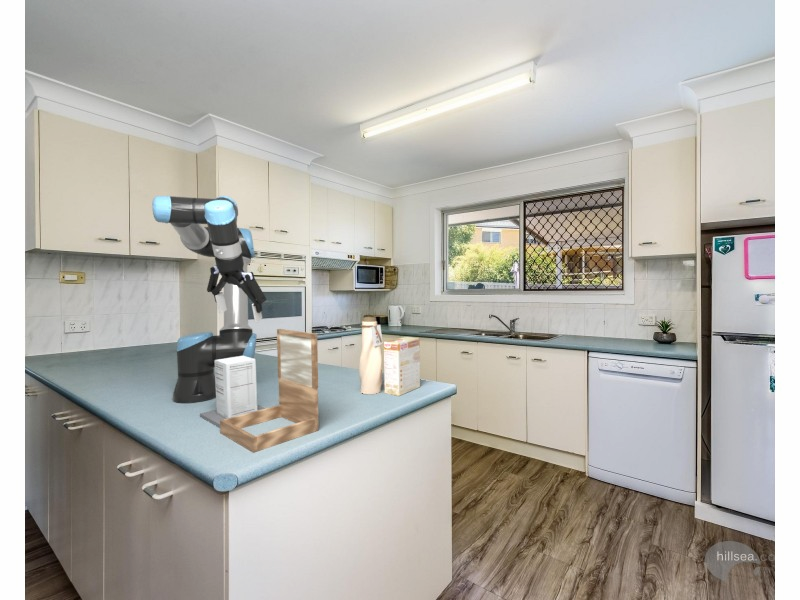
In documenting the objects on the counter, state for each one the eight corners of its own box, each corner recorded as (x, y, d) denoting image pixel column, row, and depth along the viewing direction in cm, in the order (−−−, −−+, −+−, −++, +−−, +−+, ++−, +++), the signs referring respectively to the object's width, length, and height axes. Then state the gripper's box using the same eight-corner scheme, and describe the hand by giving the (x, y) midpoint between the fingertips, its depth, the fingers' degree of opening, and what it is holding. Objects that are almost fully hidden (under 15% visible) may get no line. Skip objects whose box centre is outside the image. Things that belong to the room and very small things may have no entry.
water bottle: (390, 390, 147) (389, 317, 146) (376, 396, 140) (375, 319, 139) (368, 387, 153) (367, 316, 152) (354, 392, 145) (352, 318, 144)
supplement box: (245, 406, 128) (244, 355, 127) (258, 412, 121) (257, 358, 121) (215, 413, 121) (213, 359, 120) (227, 420, 114) (225, 363, 114)
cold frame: (253, 452, 94) (250, 341, 93) (220, 432, 107) (217, 335, 106) (319, 430, 108) (317, 333, 107) (282, 415, 121) (280, 329, 120)
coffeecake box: (405, 384, 156) (405, 336, 156) (421, 387, 152) (420, 337, 152) (383, 393, 144) (382, 341, 143) (399, 396, 140) (398, 342, 139)
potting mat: (221, 429, 110) (221, 425, 110) (199, 416, 121) (199, 413, 121) (273, 414, 122) (273, 411, 121) (249, 404, 132) (249, 401, 132)
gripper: (184, 252, 114) (200, 313, 125) (256, 267, 108) (266, 330, 118) (203, 243, 120) (216, 302, 131) (272, 257, 114) (280, 317, 124)
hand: (240, 315), depth 125 cm, fingers open, 13 cm apart
